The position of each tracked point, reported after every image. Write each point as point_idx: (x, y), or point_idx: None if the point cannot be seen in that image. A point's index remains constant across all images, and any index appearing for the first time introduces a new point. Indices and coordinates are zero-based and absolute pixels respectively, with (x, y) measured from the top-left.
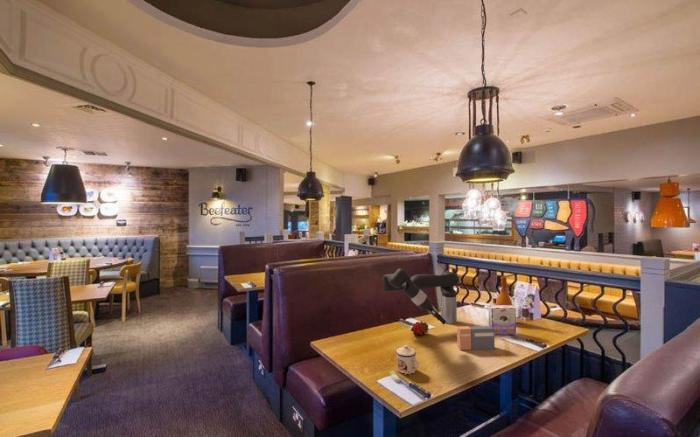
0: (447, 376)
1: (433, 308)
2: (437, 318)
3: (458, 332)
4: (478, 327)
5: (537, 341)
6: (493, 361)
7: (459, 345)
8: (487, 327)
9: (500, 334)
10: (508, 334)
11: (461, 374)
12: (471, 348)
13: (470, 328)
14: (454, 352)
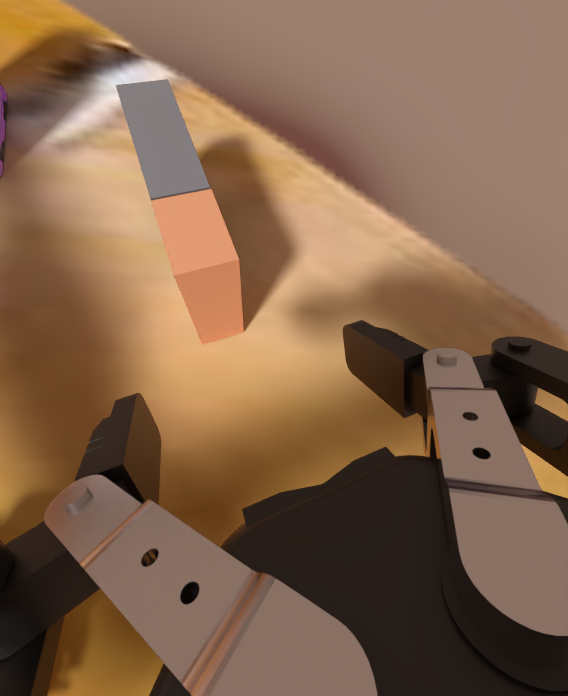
0: (542, 389)
1: (554, 558)
2: (552, 417)
3: (209, 290)
4: (161, 147)
5: (79, 55)
6: (322, 213)
7: (232, 325)
8: (151, 105)
9: (2, 142)
10: (3, 114)
11: (493, 333)
12: None
13: (202, 191)
14: (280, 360)
